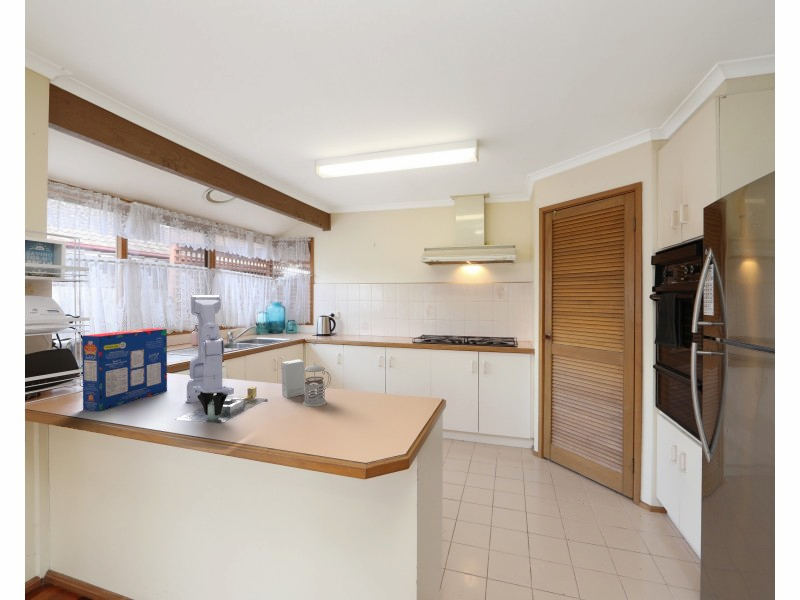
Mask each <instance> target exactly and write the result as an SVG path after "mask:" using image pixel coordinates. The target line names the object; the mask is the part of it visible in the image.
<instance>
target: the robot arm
mask: <svg viewBox="0 0 800 600" xmlns="http://www.w3.org/2000/svg"><path fill="white" fill-rule="evenodd" d="M221 306H222V301H221V296H219V294H217V295H191V297H190V313H191V315H193V316H196V318H197V328H198V329H197V355H196V356H194V357H193V358H191V359H190V361H189V378H190V379H189V380H188V382H187V385H186V400H184V402H185V403H195V402H200V404H201V405H202V407H203V408H204V412H205V415H208V404H209V403H210V401H213V402H214V411H215V416H217V415H219V414H221V411H222V407H223V404H224V402H225V400H226V398H227V397H228V396H231V395H234V393H235V391H234V389H235V388H234V387H228V386H224V385H223V356H224V354H225V342H224V339H223V337H222V336H221V330H220V326H219V324H217V323H216V315H217V314H218V313H219V312H220V310H221Z"/></svg>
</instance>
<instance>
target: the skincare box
mask: <svg viewBox="0 0 800 600" xmlns="http://www.w3.org/2000/svg"><path fill="white" fill-rule="evenodd" d="M280 367H281V395H282V396H283V397H285V398H286V399H289V398H294V397H298V396H303V395H305V370H304V369H305V361H303V359H299V358H298V359H292V360H286V361H281V366H280Z"/></svg>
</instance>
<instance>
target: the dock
mask: <svg viewBox="0 0 800 600" xmlns="http://www.w3.org/2000/svg"><path fill="white" fill-rule="evenodd" d="M262 402H263V403H264V402H265V403H267V402H268V398H259V397H255V398H253V399H250V400H248V401H246V402H245V398H244V396H243V397H242V396H231V395H228V396H227V398H226V400H225V402H224V404H223V407H222V411H221V414H219V415H218V419H215V420H208V415H205V412H204V408H203V406H202V407H200V408H197V409H195V410H193V411H191V412H188V413H186V414H184V415H182V416H179V417H176V418H175V419H174V421H175V420H176V421H186V422H187V421H188V422H199V423H212V424H223V423H225V422H227V421H229V420H230V419H233V418H235V417H237V416H238V415H240V414H242V413H244V412H246V411H248V410H249V409H252V408H253V407H255V406H257V405H259V404H261V403H262Z"/></svg>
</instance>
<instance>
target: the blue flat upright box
mask: <svg viewBox="0 0 800 600" xmlns="http://www.w3.org/2000/svg"><path fill="white" fill-rule="evenodd" d="M167 333H168V330H167V328H152V327H151V328H143V329H134V330H123V331H115V332H113V331H112V332H105V333H104V332H103V333H95V334H94V333H93V334H85V335H81V336H82V338H81V339H82V343H81V345H82V347H81V348H82V352H81V353H82V410H83V411H89V412H91V411H92V412H98V413H99V412H103V411H106V410H110V409H113V408H116V407H119V406H122V405H125V404H126V405H127V404H129V403H133V402H135V401H140V400H142V399H145V398H149V397H152V396H155V395H159V394H162V393H165V392H168V348H167V347H168V345H167V344H168V336H167V335H168V334H167Z"/></svg>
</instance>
